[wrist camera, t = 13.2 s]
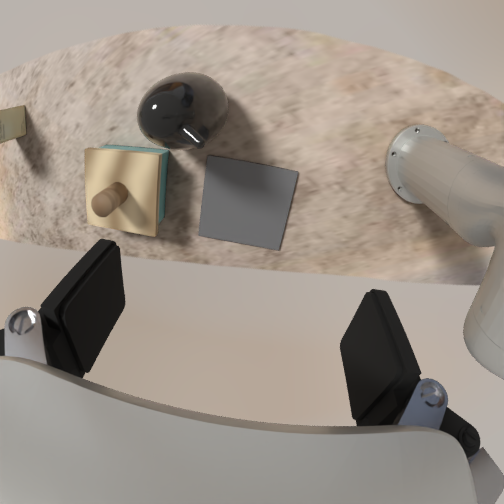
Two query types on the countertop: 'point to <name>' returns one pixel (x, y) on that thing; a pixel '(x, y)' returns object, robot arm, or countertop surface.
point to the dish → (163, 171)
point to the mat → (245, 202)
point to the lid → (123, 189)
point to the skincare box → (12, 123)
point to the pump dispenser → (183, 111)
